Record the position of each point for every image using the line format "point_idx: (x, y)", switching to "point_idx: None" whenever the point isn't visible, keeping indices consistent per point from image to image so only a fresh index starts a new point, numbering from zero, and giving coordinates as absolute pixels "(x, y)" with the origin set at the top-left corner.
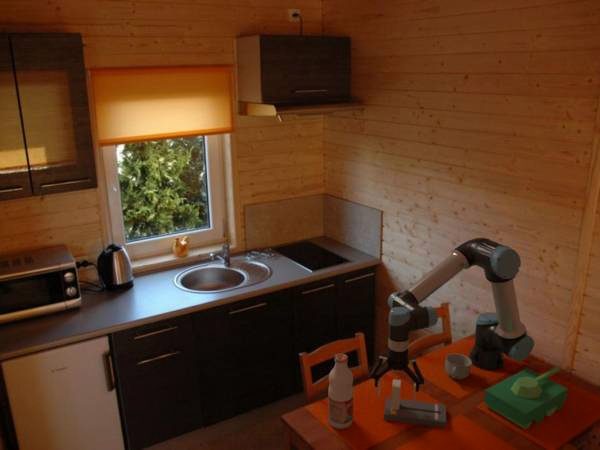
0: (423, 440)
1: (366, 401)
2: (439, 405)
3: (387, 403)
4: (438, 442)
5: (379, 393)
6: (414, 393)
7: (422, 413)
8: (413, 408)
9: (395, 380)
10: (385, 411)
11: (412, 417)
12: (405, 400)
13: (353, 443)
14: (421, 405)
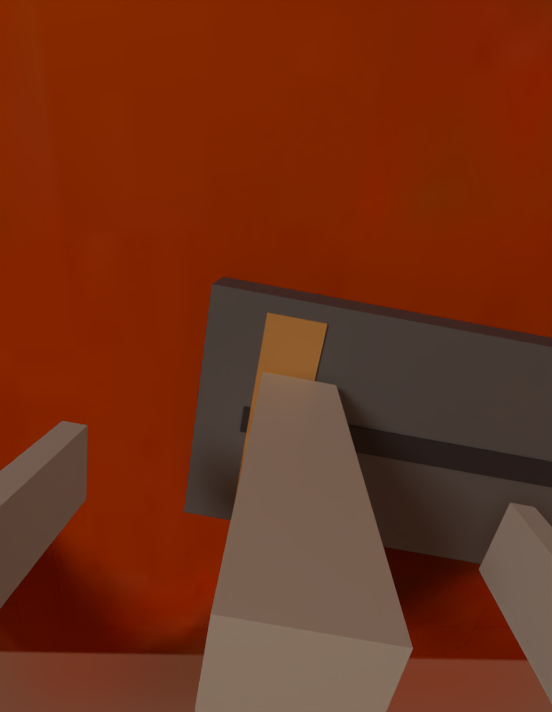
0: (419, 635)
1: (53, 266)
2: None
3: (219, 384)
4: (502, 648)
5: (70, 509)
6: (549, 678)
7: (501, 505)
8: (444, 449)
9: (268, 656)
10: (197, 483)
11: (403, 544)
12: (400, 334)
13: (33, 646)
14: (534, 404)
